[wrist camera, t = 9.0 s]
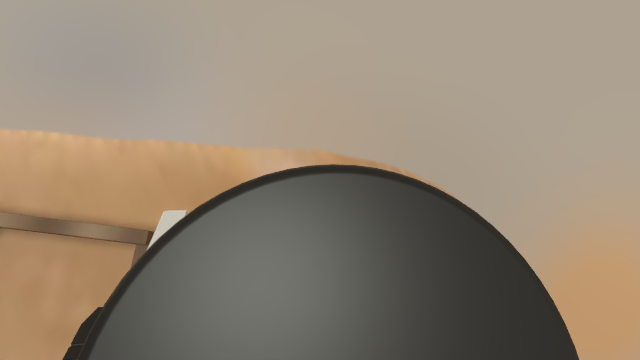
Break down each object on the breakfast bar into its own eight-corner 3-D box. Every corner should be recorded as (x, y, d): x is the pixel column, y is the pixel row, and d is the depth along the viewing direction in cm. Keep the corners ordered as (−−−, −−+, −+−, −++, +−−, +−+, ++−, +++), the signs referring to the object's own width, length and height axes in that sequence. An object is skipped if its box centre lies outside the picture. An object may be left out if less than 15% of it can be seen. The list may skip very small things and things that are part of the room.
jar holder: (-86, 425, 25) (-153, 454, 21) (-9, 213, 28) (-54, 205, 25) (118, 440, 26) (90, 470, 22) (165, 235, 30) (148, 230, 26)
